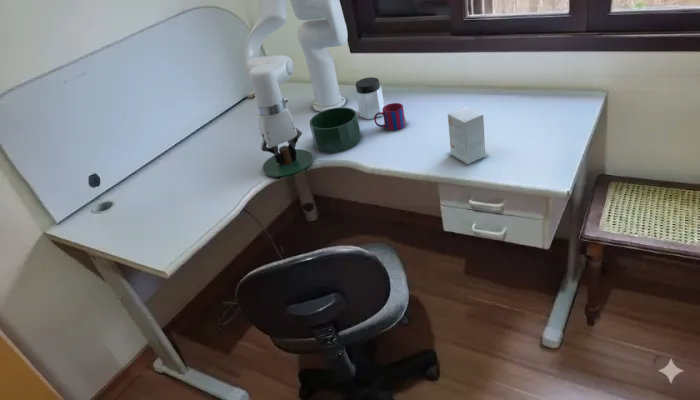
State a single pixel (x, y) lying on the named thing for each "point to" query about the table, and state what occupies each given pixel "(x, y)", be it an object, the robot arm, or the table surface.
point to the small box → (466, 134)
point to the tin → (335, 130)
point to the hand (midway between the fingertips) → (287, 160)
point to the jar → (369, 97)
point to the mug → (392, 117)
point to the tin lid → (288, 163)
